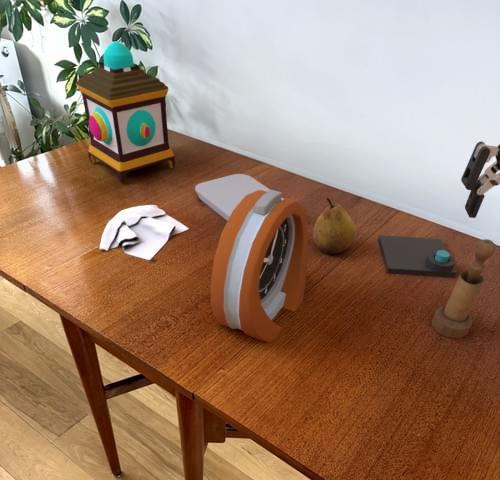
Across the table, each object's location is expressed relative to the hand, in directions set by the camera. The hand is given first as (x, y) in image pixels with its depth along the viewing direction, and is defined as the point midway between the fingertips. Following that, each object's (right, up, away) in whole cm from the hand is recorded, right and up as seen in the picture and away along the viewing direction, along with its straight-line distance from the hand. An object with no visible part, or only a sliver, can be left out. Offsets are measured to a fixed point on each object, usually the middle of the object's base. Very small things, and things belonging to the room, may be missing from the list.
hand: (499, 217), depth 69 cm
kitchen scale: (-2, -1, +31) cm, 31 cm away
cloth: (-62, +5, +35) cm, 71 cm away
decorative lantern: (-70, +29, +60) cm, 97 cm away
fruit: (-20, +1, +33) cm, 39 cm away
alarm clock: (-35, -13, +17) cm, 41 cm away
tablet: (-39, +14, +45) cm, 61 cm away
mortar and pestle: (-1, -16, +15) cm, 22 cm away
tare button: (+2, -2, +27) cm, 27 cm away
